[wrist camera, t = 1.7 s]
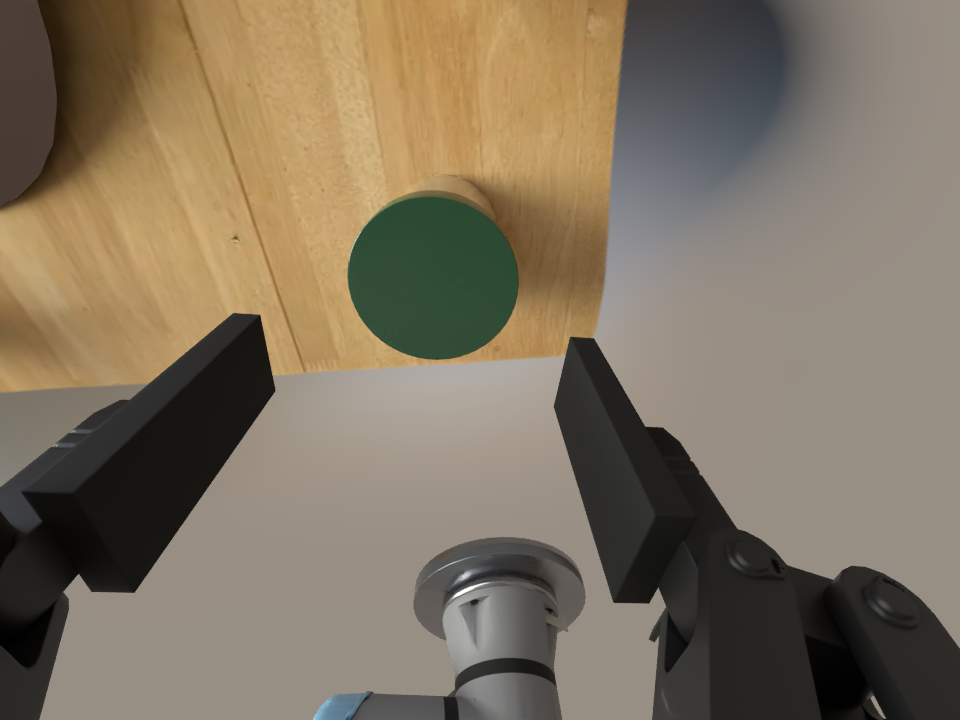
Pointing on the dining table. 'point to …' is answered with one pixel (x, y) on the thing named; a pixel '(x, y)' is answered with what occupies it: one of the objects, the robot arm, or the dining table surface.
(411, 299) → the jar lid
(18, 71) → the plate
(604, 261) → the dining table surface
